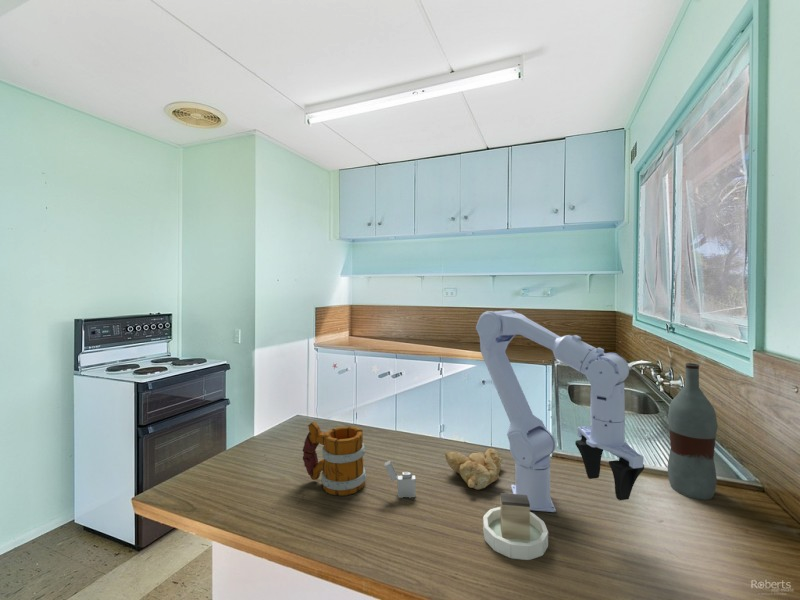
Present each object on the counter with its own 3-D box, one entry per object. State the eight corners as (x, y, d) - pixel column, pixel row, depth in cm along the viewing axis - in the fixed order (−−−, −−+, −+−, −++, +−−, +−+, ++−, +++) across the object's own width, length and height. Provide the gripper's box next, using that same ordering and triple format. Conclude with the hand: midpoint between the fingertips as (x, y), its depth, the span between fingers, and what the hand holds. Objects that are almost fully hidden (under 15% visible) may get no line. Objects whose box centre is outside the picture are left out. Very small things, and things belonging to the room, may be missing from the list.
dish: (481, 515, 76) (481, 504, 76) (539, 520, 74) (539, 509, 74) (486, 555, 64) (486, 542, 64) (554, 562, 63) (554, 548, 63)
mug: (359, 499, 82) (358, 434, 82) (293, 491, 86) (292, 429, 85) (372, 475, 93) (371, 418, 93) (313, 470, 96) (312, 414, 96)
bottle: (715, 506, 79) (716, 370, 78) (664, 490, 85) (665, 364, 84) (717, 489, 85) (719, 363, 85) (670, 475, 92) (671, 358, 91)
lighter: (415, 493, 85) (415, 459, 85) (415, 497, 83) (415, 463, 83) (385, 493, 85) (384, 460, 84) (384, 497, 83) (384, 463, 83)
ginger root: (448, 492, 83) (449, 454, 84) (442, 474, 98) (443, 443, 100) (517, 495, 82) (516, 457, 84) (500, 477, 98) (499, 446, 99)
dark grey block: (500, 527, 71) (500, 492, 71) (526, 530, 70) (526, 495, 70) (502, 538, 68) (502, 501, 68) (529, 540, 67) (529, 503, 67)
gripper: (564, 407, 75) (564, 471, 76) (618, 433, 61) (618, 512, 61) (594, 405, 77) (594, 468, 77) (653, 430, 62) (653, 507, 63)
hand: (607, 487), depth 69 cm, fingers open, 7 cm apart
